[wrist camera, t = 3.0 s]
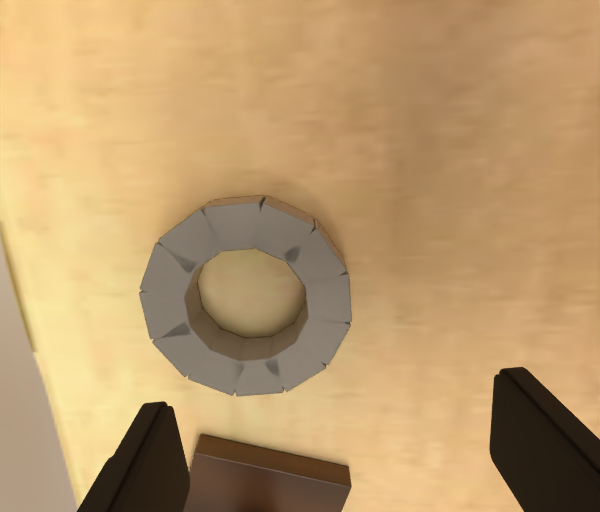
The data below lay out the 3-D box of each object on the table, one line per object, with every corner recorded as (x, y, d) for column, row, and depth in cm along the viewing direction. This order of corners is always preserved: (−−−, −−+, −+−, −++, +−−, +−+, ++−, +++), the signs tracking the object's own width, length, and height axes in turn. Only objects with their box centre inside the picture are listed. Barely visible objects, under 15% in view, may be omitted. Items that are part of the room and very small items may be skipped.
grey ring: (196, 163, 19) (182, 166, 16) (377, 245, 20) (388, 258, 18) (135, 330, 21) (116, 352, 19) (298, 393, 23) (298, 421, 20)
